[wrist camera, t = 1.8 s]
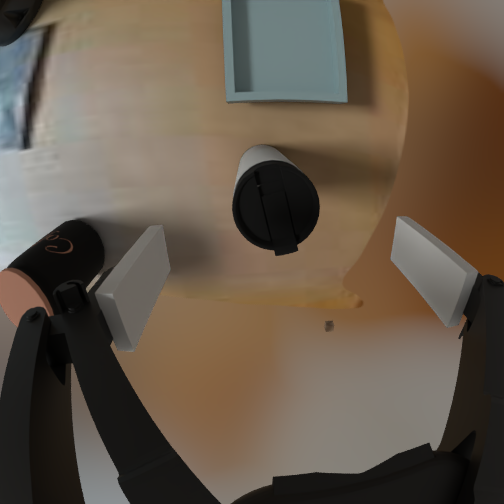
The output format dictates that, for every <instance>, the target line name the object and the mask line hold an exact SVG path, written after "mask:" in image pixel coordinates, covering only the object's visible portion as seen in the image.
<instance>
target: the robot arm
mask: <svg viewBox="0 0 504 504" xmlns="http://www.w3.org/2000/svg"><path fill="white" fill-rule="evenodd" d="M42 1H43V0H0V46H6V45H8V44H10V43H12V42H13V41H14V40H16V39H17V38H18V37H19V36H20V35H21V34H22V33H23V32H24V31H25V29H26V28H27V27H28V26H29V24H30V23H31V21H32V20H33V18H34V17H35V15H36V14H37V12H38V10H39V8H40V6H41V4H42ZM390 260H391V261H392V262H393V263H394V264H395V265H396V266H397V267H398V268H399V269H400V271H401V272H402V273H403V274H404V275H405V276H406V278H407V279H408V280H409V281H410V282H411V283H412V285H413V286H414V287H415V288H416V289H417V291H418V292H419V293H420V294H421V296H422V297H423V298H424V299H425V300H426V302H427V303H428V304H429V305H430V306H431V308H432V309H433V310H434V312H435V313H436V314H437V316H438V317H439V318H440V319H441V321H442V322H443V323H444V325H445V326H446V327H447V328H448V327H452V326H456V325H459V322H460V320H461V318H462V315H463V314H464V315H465V316H466V317H467V320H466V322H465V325H464V327H463V329H462V331H461V333H460V335H459V339H460V338H461V336H463V342H462V350H461V358H460V364H459V371H458V377H457V382H456V387H455V392H454V396H453V401H452V405H451V409H450V413H449V417H448V420H447V424H446V428H445V431H444V434H443V438H442V441H441V443H440V445H439V447H438V449H437V450H436V451H432V449H431V446H430V443H427V444H424V445H421V446H419V447H416V448H413V449H411V450H407V451H405V452H402V453H398V454H396V455H394V456H393V457H391V458H389V459H388V460H386V461H384V462H382V463H380V464H379V465H377V466H375V467H373V468H371V469H370V470H367V471H365V472H363V473H359V474H341V473H319V472H315V473H308V474H299V475H289V476H278V477H273V482H272V485H269V486H265V487H262V488H259V489H257V490H254V491H251V492H249V493H247V494H245V495H243V496H242V497H240V498H238V499H237V500H235V501H234V502H233V503H231V504H504V282H503V281H502V280H501V279H499V278H498V277H496V276H493V275H484V276H482V275H481V274H480V273H479V272H478V271H477V270H476V269H475V268H473V267H472V266H471V265H470V264H469V263H468V262H466V261H465V260H464V259H463V258H462V257H460V256H459V255H458V254H457V253H456V252H454V251H453V250H452V249H451V248H449V247H448V246H447V245H445V244H444V243H443V242H441V241H440V240H439V239H438V238H436V237H435V236H434V235H432V234H431V233H430V232H428V231H427V230H426V229H424V228H423V227H422V226H420V225H419V224H418V223H416V222H415V221H413V220H412V219H410V218H409V217H406V216H403V217H402V216H401V217H400V216H398V217H397V221H396V228H395V235H394V242H393V247H392V253H391V258H390ZM170 270H171V268H170V263H169V258H168V252H167V247H166V241H165V235H164V229H163V225H152V226H149V227H148V228H147V229H146V231H145V232H144V233H143V234H142V235H141V236H140V237H139V239H138V240H137V241H136V242H135V243H134V245H133V246H132V247H131V248H130V249H129V251H128V252H127V253H126V254H125V255H124V257H123V258H122V259H121V260H120V261H119V263H118V264H117V265H116V266H115V268H110V269H109V270H107V271H106V272H104V273H103V274H102V276H101V277H100V278H99V279H98V281H97V282H96V283H95V284H94V286H93V287H92V288H91V289H90V291H89V292H88V293H87V291H86V289H85V286H84V283H83V282H82V281H81V280H70V281H67V282H64V283H62V284H61V285H59V286H58V287H57V288H56V289H55V290H54V291H53V297H54V300H55V302H56V304H57V307H58V309H59V311H60V313H61V314H59V315H54V316H48V314H47V312H46V309H45V308H44V307H40V306H39V307H34V308H30V309H29V310H27V311H26V312H25V313H24V314H23V315H22V317H21V319H20V322H19V325H18V328H17V331H16V334H15V337H14V341H13V344H12V348H11V351H10V356H9V359H8V363H7V367H6V372H5V376H4V381H3V386H2V391H1V397H0V504H85V501H84V497H83V492H82V488H81V483H80V479H79V478H80V477H79V472H78V466H77V459H76V452H75V444H74V436H73V435H74V434H73V423H72V406H71V363H73V365H74V368H75V371H76V374H77V378H78V381H79V384H80V387H81V390H82V392H83V395H84V398H85V400H86V403H87V406H88V408H89V411H90V413H91V416H92V418H93V421H94V422H95V425H96V428H97V430H98V432H99V434H100V436H101V439H102V441H103V443H104V445H105V447H106V449H107V451H108V453H109V455H110V457H111V459H112V461H113V463H114V465H115V466H116V468H117V471H118V472H119V477H118V478H117V479H118V483H119V485H120V487H121V489H122V491H123V493H124V494H125V496H126V498H127V499H128V501H129V502H130V504H221V503H220V502H219V501H218V500H217V499H216V498H215V497H214V496H213V495H212V494H211V493H210V491H209V490H208V489H207V488H206V487H205V486H204V485H203V484H202V483H201V481H200V480H199V479H198V478H197V477H196V476H195V474H194V473H193V472H192V471H191V470H190V469H189V467H188V466H187V465H186V464H185V463H184V461H183V460H182V459H181V457H180V456H179V455H178V454H177V452H175V450H174V449H173V448H172V446H171V445H170V444H169V442H168V441H167V440H166V438H165V437H164V436H163V434H162V433H161V431H160V430H159V428H158V427H157V426H156V424H155V423H154V421H153V420H152V418H151V417H150V415H149V414H148V412H147V410H146V409H145V407H144V406H143V404H142V402H141V401H140V399H139V398H138V396H137V394H136V393H135V391H134V389H133V388H132V386H131V384H130V382H129V381H128V379H127V377H126V376H125V373H124V372H123V370H122V368H121V366H120V364H119V362H118V360H117V359H116V357H115V355H114V353H113V351H112V349H111V347H110V345H111V343H112V341H114V343H115V345H116V347H117V350H120V351H132V352H134V351H135V349H136V346H137V344H138V342H139V339H140V337H141V335H142V332H143V330H144V327H145V325H146V323H147V321H148V318H149V316H150V313H151V311H152V309H153V307H154V305H155V303H156V300H157V298H158V296H159V294H160V292H161V289H162V287H163V285H164V283H165V281H166V279H167V277H168V274H169V272H170Z"/></svg>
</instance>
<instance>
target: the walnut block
mask: <svg viewBox="0 0 504 504" xmlns="http://www.w3.org/2000/svg"><path fill="white" fill-rule="evenodd" d="M324 328H325V331H326V332H331V331H333V330H334V323H333V321H325V325H324Z"/></svg>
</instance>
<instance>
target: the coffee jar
mask: <svg viewBox="0 0 504 504" xmlns="http://www.w3.org/2000/svg"><path fill="white" fill-rule="evenodd" d="M103 263H104V247H103V244H102V241H101V239H100V237H99V236H98V234H97V232H96V231H95V230H94V229H93V228H92V227H91V226H89V225H87V224H86V223H84V222H82V221H76V220H70V221H66V222H64V223H63V224H61V225H60V226H58V227H57V228H56V229H54V230H53V231H51V232H50V233H49V234H47V235H46V236H44V237H43V238H42V239H40V240H39V241H38V242H36V243H35V244H34V245H33V246H31V247H30V248H29V249H27V250H26V251H25V252H24V253H22V254H21V255H20V256H19V257H17V258H16V259H15V260H14V261H13V262H12V263H11V264H10V265H9V266H8V267H7V268H6V269H4V270H2V271H1V272H0V304H1V306H2V308H3V310H4V312H5V313H6V315H7V316H8V317H9V319H10V320H11V321H12V322H13V324H15V326H17V328H18V325H19V322H20V319H21V317H22V315H23V314H24V313H25V312H26V311H27V310H29V309H30V308H34V307H39V306H40V307H44V308H45V309H46V312H47V314H48V316H54V315H59V314H61V313H60V311H59V309H58V307H57V304H56V302H55V300H54V297H53V291H54V290H55V289H56V288H57V287H58V286H59V285H61V284H62V283H64V282H67V281H70V280H81V281H82V282H83V283H84V286H85V289H86V287H87V286H88V285H89V284H90V283H91V281H92V280H93V279H94V278H95V276H96V275H97V274H98V273H99V271H100V270H101V269H102V266H103Z"/></svg>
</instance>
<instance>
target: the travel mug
mask: <svg viewBox="0 0 504 504" xmlns="http://www.w3.org/2000/svg"><path fill="white" fill-rule="evenodd" d="M319 210H320V204H319V197H318V194H317V191H316V189H315V187H314V185H313V183H312V182H311V181H310V180H309V178H308V177H307V176H306V175H305V174H304V173H303V172H302V171H301V170H300V169H299V168H298V167H297V166H296V165H294V164H293V163H292V162H291V161H290V160H289V159H288V158H286V157H285V156H284V155H283V154H282V153H280V152H279V151H278V150H277V149H275V148H274V147H271V146H268V145H256V146H253V147H251V148H250V149H248V150H247V151H246V152H245V153H244V154H243V156H242V158H241V160H240V164H239V168H238V173H237V178H236V183H235V188H234V193H233V204H232V211H233V217H234V221H235V223H236V226H237V228H238V229H239V231H240V232H241V234H242V235H243V236H244V237H245V238H246V239H247V240H248V241H249V242H251V243H252V244H254V245H256V246H258V247H260V248H263V249H267V250H274V251H275V256H280V255H285V254H289V253H293V252H296V251H298V247H297V245H298V244H299V243H301V242H302V241H304V240H305V239H306V238H307V237H308V236H309V235H310V233H311V232H312V231H313V229H314V227H315V225H316V224H317V220H318V217H319Z"/></svg>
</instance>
